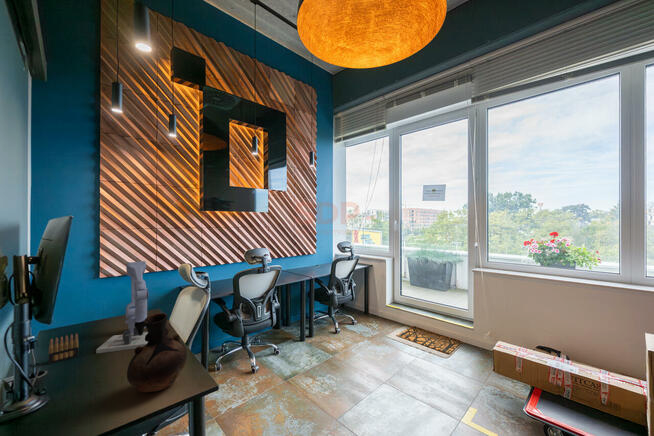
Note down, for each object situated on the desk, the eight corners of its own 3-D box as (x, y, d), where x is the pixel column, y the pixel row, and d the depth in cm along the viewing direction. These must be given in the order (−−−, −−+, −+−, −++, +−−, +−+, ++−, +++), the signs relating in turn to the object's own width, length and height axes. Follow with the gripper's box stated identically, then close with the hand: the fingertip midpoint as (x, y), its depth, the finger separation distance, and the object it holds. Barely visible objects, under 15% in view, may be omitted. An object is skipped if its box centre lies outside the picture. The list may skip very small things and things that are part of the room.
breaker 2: (135, 333, 155) (135, 326, 155) (140, 333, 156) (140, 325, 156) (133, 335, 152) (133, 328, 153) (138, 335, 153) (138, 327, 153)
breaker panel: (113, 339, 153) (113, 335, 153) (155, 334, 160) (155, 330, 160) (96, 353, 136) (96, 349, 136) (144, 347, 142) (144, 343, 143)
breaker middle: (125, 338, 149) (125, 330, 149) (130, 337, 149) (130, 330, 150) (122, 340, 146) (122, 332, 146) (127, 340, 147) (127, 332, 147)
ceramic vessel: (181, 369, 121) (182, 304, 122) (191, 386, 108) (192, 314, 108) (124, 388, 107) (126, 315, 108) (128, 411, 94) (129, 327, 95)
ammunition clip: (48, 364, 125) (48, 339, 126) (48, 363, 127) (48, 338, 127) (78, 356, 133) (79, 333, 133) (78, 355, 134) (78, 332, 134)
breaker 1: (126, 342, 144) (126, 334, 144) (131, 341, 145) (131, 333, 145) (124, 344, 141) (124, 336, 141) (129, 343, 142) (129, 335, 142)
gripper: (123, 314, 144) (122, 339, 144) (153, 312, 148) (152, 336, 148) (128, 310, 151) (128, 334, 150) (157, 308, 155) (156, 331, 155)
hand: (140, 334), depth 150 cm, fingers closed
